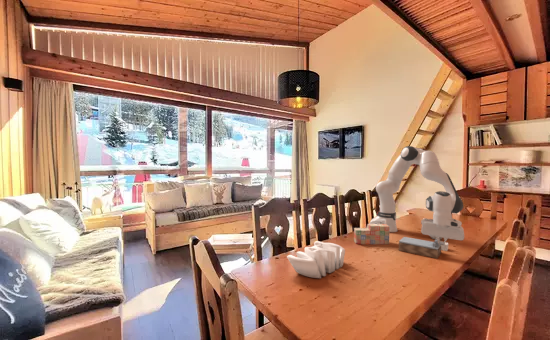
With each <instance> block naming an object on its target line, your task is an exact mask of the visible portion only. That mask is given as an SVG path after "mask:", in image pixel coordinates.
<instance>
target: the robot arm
mask: <svg viewBox="0 0 550 340" xmlns="http://www.w3.org/2000/svg"><path fill="white" fill-rule="evenodd" d="M413 164H414V165H417V166H419V170H420V171H419V172H420V174H421V175H422V177H423V178H424V179H426V180H428V181H431V182H435V183H437V184H440V185H441V186H442V187H444V190H445V191H442V190H441V191H440V190H439V191H436V192H435V193H434V194H433V195H429V196H427V198H426V199H425V208H426V209H427V210H428V211H430V212H433V215H432V218H423V219H421V220H420V222H421V233H422V235H426V236H429V235H431V236H436V239H437V240H438V244H439V245H444V246H445V242H446V243H447V240H448V239H450V240H456V241H464V239H465V231H464V227H463V226H462V221H461V220H458V219H455V218H453V217H452V216H453V215H452V214H458V213H460V212H461V211H462V210H463V209H464V201H463V200H462V198H461V197H460V195H459V194H458V191H457V189H456V187H455V185H454V183H453V181H452V179H451V177H450V175H449V174H448V173H447V172H446V171H444V170H443V168H442V167H441V164H440V161H439V159H438V156H437V154H436V152H434V151H432V150H425V149H422V148H418V147H415V146H410V145H407V146H405V147H403V148H402V150H401V152H400V154H399V155H398V156H397V157H396V159H395V160H394V162H393V164H392V165H391V167H390V169H389V170H388V175H387V178H386V179H385V180H382V181H379V182H378V183H377V184H376V185H375V191H376V193H377V195H378V199H379V210H378V211H377V212H376V214H377V215H376V216H375V217H373V218H372V219H371V220H370V222H369V224H386V225H388V226H389V233H396V232H398V227H397V221H396V220H397V212H396V201H395V199H394V194H395V193H397V192H398V191H399V190H400V186H401V185H402V181H403V179H404V177H405V175H406V174H407V172H408V171H409V169H410V167H411V166H412V165H413ZM440 237H443V238H442V239H443V240H444V241H443V240H441V239H439V238H440ZM436 239H435V240H436Z"/></svg>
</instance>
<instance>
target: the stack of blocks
mask: <svg viewBox="0 0 550 340" xmlns="http://www.w3.org/2000/svg"><path fill="white" fill-rule="evenodd" d="M353 241H354V243H355V245H390V232H389V226H388V225H386V224H370V223H367V225H366V227H363V228H362V227H353Z"/></svg>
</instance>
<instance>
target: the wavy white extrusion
mask: <svg viewBox="0 0 550 340" xmlns="http://www.w3.org/2000/svg"><path fill="white" fill-rule="evenodd" d="M345 253H346V249H345V248H344V247H343V246H341V245H339V244H337V243H333V242H322V241H319V240H316V241H314V242H313V245H312V246H306V247H304V251H301V250H300V251H299V250H298V251H296V252H295V255H296V256H295V255H292V254H288V255H286V258H287V259H288V262H289V263H290V264H291V266H292V267H293V269H294V271H295V272H296V273H298V274H300V275H302V276H304V277H309V278H314V279H322V277H326V276H327V274H331V273H334V272H335V271H336V270H339V268H343V266H344V262H345V261H344V260H345Z"/></svg>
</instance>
